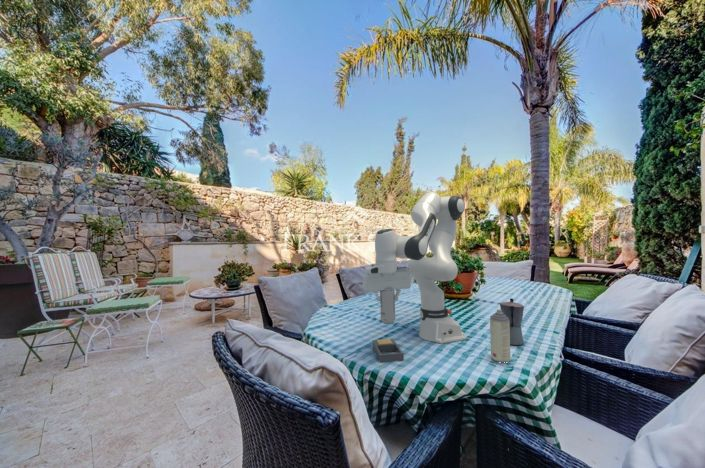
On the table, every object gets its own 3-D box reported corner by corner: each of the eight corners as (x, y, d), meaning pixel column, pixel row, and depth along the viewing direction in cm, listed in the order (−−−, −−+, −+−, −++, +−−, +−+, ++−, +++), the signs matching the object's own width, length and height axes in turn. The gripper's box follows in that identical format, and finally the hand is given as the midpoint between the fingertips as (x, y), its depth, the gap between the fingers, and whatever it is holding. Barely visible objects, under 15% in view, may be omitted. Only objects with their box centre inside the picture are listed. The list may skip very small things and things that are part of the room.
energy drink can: (379, 320, 118) (378, 285, 118) (393, 319, 118) (392, 284, 118) (382, 325, 112) (381, 288, 112) (396, 324, 112) (395, 288, 112)
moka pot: (522, 337, 130) (521, 296, 130) (527, 351, 116) (526, 304, 116) (500, 335, 134) (498, 294, 134) (502, 347, 120) (501, 302, 120)
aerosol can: (498, 354, 114) (497, 306, 114) (514, 361, 107) (513, 310, 107) (487, 357, 111) (485, 308, 111) (502, 365, 105) (501, 313, 105)
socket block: (393, 345, 126) (393, 337, 126) (403, 360, 111) (403, 352, 111) (372, 346, 125) (372, 339, 125) (379, 362, 110) (379, 354, 110)
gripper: (407, 265, 120) (408, 296, 120) (361, 268, 116) (362, 300, 117) (412, 267, 113) (413, 300, 114) (364, 270, 110) (365, 304, 110)
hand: (387, 300), depth 115 cm, fingers closed on energy drink can, 6 cm apart
